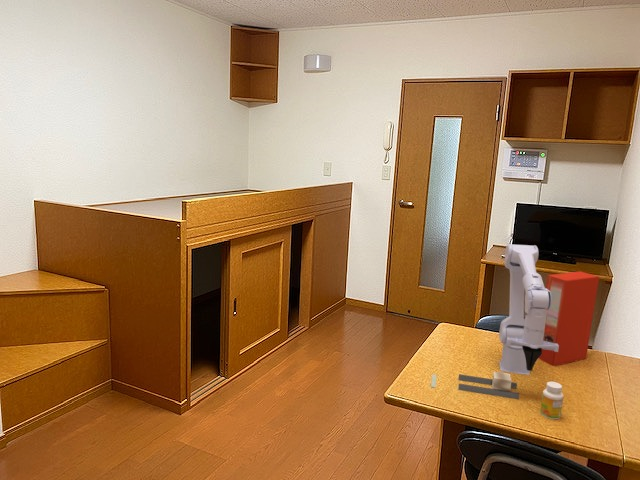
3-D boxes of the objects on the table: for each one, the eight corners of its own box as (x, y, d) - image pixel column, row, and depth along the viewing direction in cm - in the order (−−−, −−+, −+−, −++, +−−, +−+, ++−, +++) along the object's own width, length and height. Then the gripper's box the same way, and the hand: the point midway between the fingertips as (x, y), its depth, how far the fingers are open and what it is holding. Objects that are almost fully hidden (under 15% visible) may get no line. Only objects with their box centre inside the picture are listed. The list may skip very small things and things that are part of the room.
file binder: (586, 359, 182) (599, 276, 176) (554, 366, 175) (566, 280, 169) (567, 350, 189) (579, 271, 183) (536, 357, 182) (546, 274, 176)
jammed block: (508, 388, 157) (509, 373, 156) (509, 395, 152) (511, 380, 151) (491, 385, 158) (493, 371, 157) (492, 392, 154) (494, 378, 153)
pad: (456, 378, 163) (456, 378, 163) (456, 391, 155) (456, 390, 155) (432, 374, 165) (432, 374, 165) (430, 387, 157) (430, 386, 157)
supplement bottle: (536, 410, 145) (540, 380, 143) (553, 410, 145) (558, 380, 143) (546, 420, 140) (550, 389, 138) (564, 420, 140) (568, 389, 138)
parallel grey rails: (515, 388, 158) (516, 382, 157) (518, 400, 150) (519, 394, 150) (458, 379, 162) (458, 374, 162) (458, 390, 155) (458, 384, 155)
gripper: (510, 329, 147) (505, 371, 150) (562, 335, 143) (556, 378, 146) (508, 321, 154) (503, 361, 156) (558, 327, 150) (552, 368, 153)
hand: (529, 369), depth 152 cm, fingers closed
